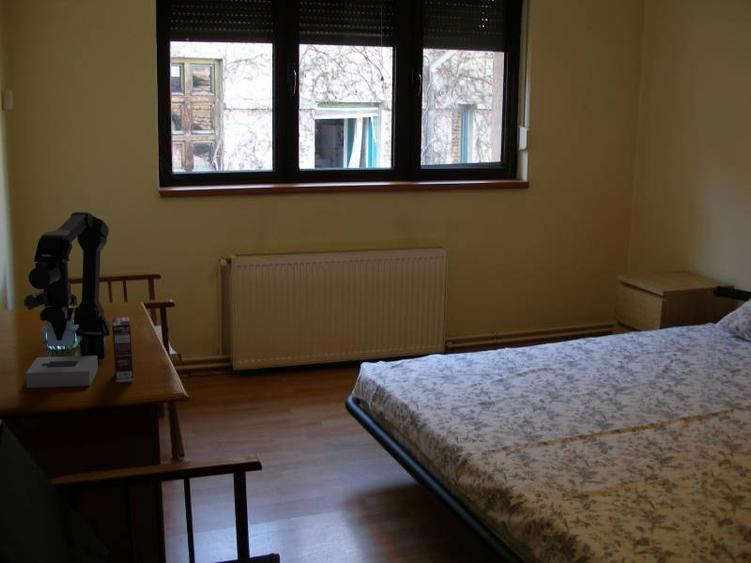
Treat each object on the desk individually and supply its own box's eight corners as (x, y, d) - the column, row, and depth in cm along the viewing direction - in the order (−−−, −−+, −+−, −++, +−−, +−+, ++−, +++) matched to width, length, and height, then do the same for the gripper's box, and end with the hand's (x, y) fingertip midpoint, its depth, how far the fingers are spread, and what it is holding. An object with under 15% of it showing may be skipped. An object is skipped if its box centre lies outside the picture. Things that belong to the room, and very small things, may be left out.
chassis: (97, 369, 250) (97, 355, 249) (90, 385, 237) (89, 371, 236) (38, 371, 248) (37, 357, 247) (26, 387, 234) (25, 373, 233)
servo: (79, 341, 243) (78, 320, 241) (77, 345, 239) (75, 323, 238) (44, 342, 241) (43, 320, 240) (41, 346, 237) (39, 324, 236)
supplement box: (114, 373, 247) (111, 317, 244) (132, 371, 248) (130, 316, 245) (115, 383, 239) (112, 325, 235) (133, 381, 240) (131, 324, 237)
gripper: (33, 274, 244) (36, 329, 248) (17, 289, 226) (21, 349, 230) (75, 273, 246) (78, 328, 249) (62, 288, 228) (66, 347, 231)
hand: (60, 338), depth 240 cm, fingers closed on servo, 4 cm apart
